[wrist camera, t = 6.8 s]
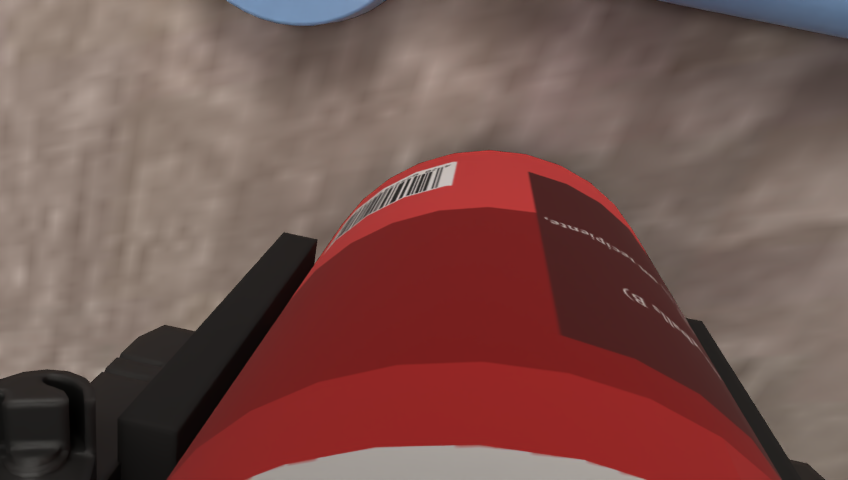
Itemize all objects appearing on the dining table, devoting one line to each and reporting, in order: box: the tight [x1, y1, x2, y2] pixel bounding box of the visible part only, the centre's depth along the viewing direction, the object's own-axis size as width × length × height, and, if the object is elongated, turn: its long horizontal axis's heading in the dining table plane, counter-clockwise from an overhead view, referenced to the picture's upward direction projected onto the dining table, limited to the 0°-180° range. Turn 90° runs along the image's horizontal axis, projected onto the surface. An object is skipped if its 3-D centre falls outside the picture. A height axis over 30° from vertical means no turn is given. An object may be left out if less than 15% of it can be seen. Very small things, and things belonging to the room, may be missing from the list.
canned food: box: [167, 150, 782, 480], centre depth 11 cm, size 8×8×11 cm
